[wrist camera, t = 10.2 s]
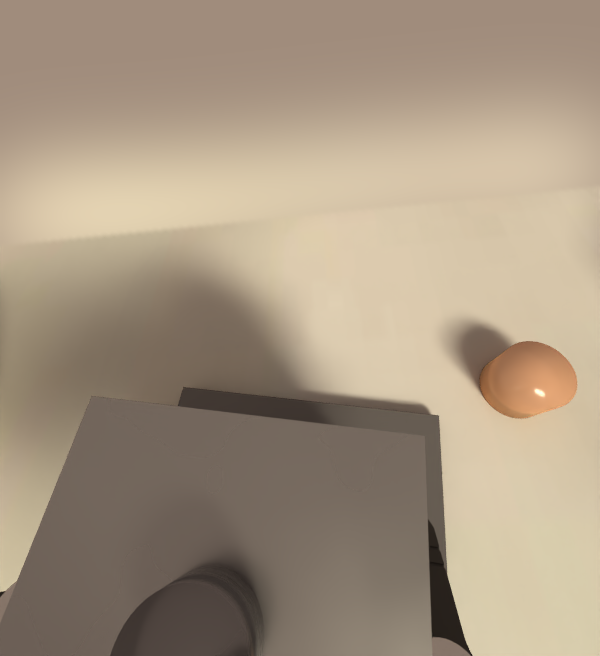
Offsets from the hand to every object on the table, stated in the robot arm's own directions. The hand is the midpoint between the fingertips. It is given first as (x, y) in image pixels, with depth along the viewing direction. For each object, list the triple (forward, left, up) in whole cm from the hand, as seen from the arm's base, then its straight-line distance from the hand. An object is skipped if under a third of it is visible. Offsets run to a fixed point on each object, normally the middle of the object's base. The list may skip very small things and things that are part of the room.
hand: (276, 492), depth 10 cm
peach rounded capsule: (-13, -3, -7) cm, 15 cm away
